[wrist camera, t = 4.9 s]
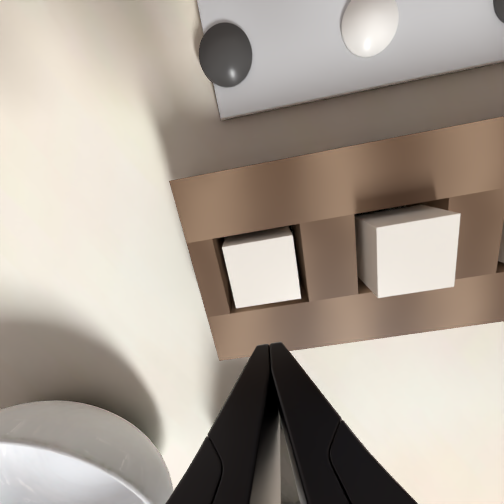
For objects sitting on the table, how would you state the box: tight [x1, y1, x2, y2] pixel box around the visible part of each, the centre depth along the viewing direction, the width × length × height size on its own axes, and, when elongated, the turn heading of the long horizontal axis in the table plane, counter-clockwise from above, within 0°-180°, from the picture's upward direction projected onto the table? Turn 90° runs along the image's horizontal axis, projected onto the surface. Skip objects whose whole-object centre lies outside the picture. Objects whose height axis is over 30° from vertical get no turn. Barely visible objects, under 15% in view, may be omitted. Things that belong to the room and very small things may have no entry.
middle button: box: [354, 204, 461, 298], centre depth 14 cm, size 4×4×3 cm
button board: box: [169, 116, 504, 361], centre depth 16 cm, size 24×12×4 cm, turn 100°
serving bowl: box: [0, 400, 173, 504], centre depth 23 cm, size 21×21×7 cm
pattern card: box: [197, 0, 504, 120], centre depth 14 cm, size 19×6×1 cm, turn 100°
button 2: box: [222, 226, 301, 308], centre depth 16 cm, size 4×4×3 cm
